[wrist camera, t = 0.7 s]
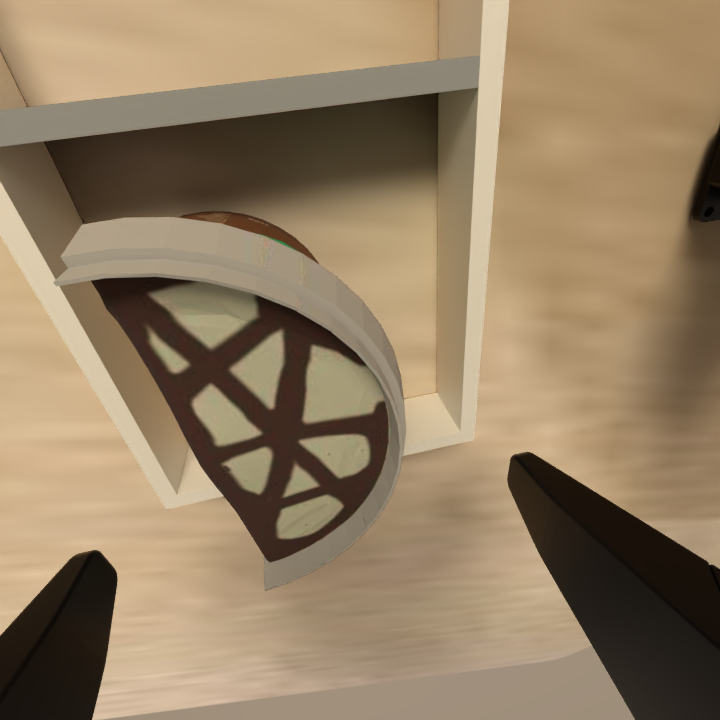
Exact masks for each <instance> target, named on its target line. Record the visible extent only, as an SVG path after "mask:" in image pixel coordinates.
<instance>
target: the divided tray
mask: <svg viewBox="0 0 720 720" xmlns="http://www.w3.org/2000/svg"><path fill="white" fill-rule="evenodd" d="M508 10H509V0H439V60H435V61H426V62H417V63H408V64H400V65H391V66H382V67H374V68H365V69H356V70H347V71H339V72H330V73H321V74H312V75H304V76H295V77H286V78H278V79H269V80H260V81H251V82H243V83H234V84H225V85H216V86H208V87H199V88H190V89H181V90H173V91H164V92H155V93H147V94H138V95H129V96H120V97H112V98H103V99H94V100H85V101H77V102H68V103H59V104H51V105H42V106H33V107H27V106H26V104H25V101H24V99H23V97H22V95H21V93H20V91H19V89H18V87H17V85H16V83H15V81H14V79H13V77H12V74H11V72H10V70H9V68H8V66H7V64H6V62H5V60H4V58H3V56H2V54H1V52H0V236H1V237H2V239H3V241H4V242H5V244H6V246H7V247H8V249H9V251H10V252H11V254H12V256H13V257H14V259H15V261H16V262H17V264H18V266H19V267H20V269H21V270H22V272H23V274H24V275H25V277H26V279H27V280H28V282H29V284H30V285H31V287H32V289H33V290H34V292H35V294H36V295H37V297H38V299H39V300H40V302H41V304H42V305H43V307H44V308H45V310H46V312H47V313H48V315H49V317H50V318H51V320H52V322H53V323H54V325H55V327H56V328H57V330H58V332H59V333H60V335H61V337H62V338H63V340H64V342H65V343H66V345H67V346H68V348H69V350H70V351H71V353H72V355H73V356H74V358H75V360H76V361H77V363H78V365H79V366H80V368H81V370H82V371H83V373H84V375H85V376H86V378H87V380H88V381H89V383H90V384H91V386H92V388H93V389H94V391H95V393H96V394H97V396H98V398H99V399H100V401H101V403H102V404H103V406H104V408H105V409H106V411H107V413H108V414H109V416H110V418H111V419H112V421H113V422H114V424H115V426H116V427H117V429H118V431H119V432H120V434H121V436H122V437H123V439H124V441H125V442H126V444H127V446H128V447H129V449H130V451H131V452H132V454H133V456H134V457H135V459H136V460H137V462H138V464H139V465H140V467H141V469H142V470H143V472H144V474H145V475H146V477H147V479H148V480H149V482H150V484H151V485H152V487H153V489H154V490H155V492H156V494H157V495H158V497H159V498H160V500H161V502H162V503H163V505H164V507H165V508H166V509H170V508H175V507H179V506H183V505H188V504H192V503H197V502H201V501H206V500H210V499H215V498H219V497H224V496H223V495H222V493H221V492H220V491H219V490H218V489H217V488H216V486H215V485H214V484H213V482H212V481H211V480H210V479H209V477H208V476H207V475H206V473H205V472H204V471H203V469H202V468H201V466H200V464H199V463H198V461H197V459H196V457H195V455H194V453H193V451H192V450H191V448H190V446H189V444H188V442H187V440H186V439H185V437H184V435H183V433H182V431H181V429H180V427H179V425H178V423H177V421H176V419H175V417H174V415H173V413H172V411H171V409H170V407H169V405H168V404H167V402H166V400H165V398H164V396H163V395H162V393H161V391H160V389H159V387H158V386H157V384H156V382H155V380H154V379H153V377H152V375H151V374H150V372H149V370H148V369H147V367H146V365H145V364H144V362H143V360H142V359H141V357H140V356H139V354H138V352H137V351H136V349H135V347H134V346H133V344H132V342H131V341H130V339H129V338H128V336H127V335H126V333H125V332H124V331H123V329H122V328H121V326H120V325H119V323H118V322H117V321H116V320H115V318H114V317H113V316H112V315H111V314H110V313H109V312H108V310H107V309H106V308H105V305H104V303H103V301H102V299H101V297H100V295H99V293H98V292H97V290H96V288H95V287H94V285H93V284H92V282H91V281H85V282H79V283H73V284H67V285H61V286H56V285H55V284H54V283H53V282H54V281H55V280H56V279H57V278H58V277H59V276H60V275H61V274H62V273H63V272H65V271H66V270H67V269H68V267H67V266H66V264H65V263H64V261H63V260H62V259H61V255H62V254H63V252H64V251H65V249H66V248H67V246H68V245H69V243H70V242H71V240H72V239H73V237H74V236H75V234H76V233H77V231H78V230H79V228H80V227H81V225H82V224H83V222H82V220H81V218H80V216H79V214H78V212H77V210H76V207H75V205H74V203H73V201H72V199H71V197H70V195H69V193H68V191H67V189H66V187H65V185H64V183H63V180H62V178H61V176H60V174H59V172H58V170H57V168H56V166H55V164H54V162H53V160H52V158H51V156H50V153H49V151H48V149H47V147H46V145H45V143H44V142H45V141H53V140H61V139H69V138H77V137H85V136H93V135H101V134H110V133H118V132H126V131H134V130H142V129H150V128H158V127H166V126H174V125H182V124H190V123H198V122H206V121H215V120H223V119H231V118H239V117H247V116H255V115H263V114H271V113H279V112H287V111H295V110H303V109H311V108H320V107H328V106H336V105H344V104H352V103H360V102H368V101H376V100H384V99H392V98H400V97H408V96H416V95H424V94H433V93H438V249H437V393H432V394H428V395H423V396H418V397H413V398H408V399H404V406H405V420H406V437H405V444H404V452H403V456H406V455H411V454H415V453H420V452H424V451H428V450H433V449H437V448H442V447H446V446H451V445H455V444H460V443H464V442H469V441H473V440H474V436H475V424H476V411H477V399H478V386H479V373H480V361H481V348H482V336H483V323H484V311H485V298H486V286H487V273H488V261H489V248H490V236H491V223H492V211H493V198H494V186H495V173H496V161H497V148H498V136H499V123H500V111H501V98H502V86H503V73H504V61H505V48H506V35H507V23H508Z"/></svg>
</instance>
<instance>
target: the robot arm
mask: <svg viewBox="0 0 720 720" xmlns="http://www.w3.org/2000/svg"><path fill="white" fill-rule="evenodd" d="M692 216H693V219H695V220H697V221H701V222H708V221H714V220H720V136H719V139H718V142H717V145H716V148H715V151H714V154H713V156H712V159H711V162H710V165H709V168H708V171H707V173H706V176H705V179H704V182H703V185H702V188H701V191H700V193H699V196H698V199H697V202H696V205H695V208H694V210H693V215H692ZM507 480H508V486H509V489H510V491H511V493H512V496H513V498H514V500H515V502H516V504H517V507H518V509H519V511H520V513H521V515H522V518H523V520H524V522H525V524H526V526H527V529H528V531H529V533H530V535H531V538H532V540H533V542H534V544H535V546H536V548H537V550H538V552H539V554H540V556H541V558H542V560H543V561H544V563H545V565H546V567H547V568H548V570H549V572H550V574H551V575H552V577H553V579H554V580H555V582H556V584H557V586H558V587H559V589H560V591H561V593H562V594H563V596H564V598H565V599H566V601H567V603H568V605H569V606H570V608H571V610H572V611H573V613H574V615H575V617H576V618H577V620H578V622H579V624H580V625H581V627H582V629H583V630H584V632H585V634H586V636H587V637H588V639H589V641H590V643H591V644H592V646H593V648H594V649H595V651H596V653H597V655H598V656H599V658H600V659H601V661H602V663H603V665H604V667H605V668H606V670H607V672H608V673H609V675H610V677H611V679H612V680H613V682H614V684H615V685H616V687H617V689H618V691H619V692H620V694H621V696H622V698H623V699H624V701H625V703H626V705H627V706H628V708H629V710H630V711H631V713H632V715H633V717H634V718H635V720H720V569H719V568H717V567H716V566H714V565H709V564H708V562H707V561H706V560H704V559H702V558H701V557H699V556H698V555H696V554H694V553H693V552H691V551H690V550H688V549H686V548H685V547H683V546H682V545H680V544H678V543H677V542H675V541H673V540H672V539H670V538H669V537H667V536H665V535H664V534H662V533H661V532H659V531H657V530H656V529H654V528H652V527H651V526H649V525H648V524H646V523H644V522H643V521H641V520H640V519H638V518H636V517H635V516H633V515H631V514H630V513H628V512H627V511H625V510H623V509H622V508H620V507H619V506H617V505H615V504H614V503H612V502H610V501H609V500H607V499H606V498H604V497H602V496H601V495H599V494H598V493H596V492H594V491H593V490H591V489H589V488H588V487H586V486H585V485H583V484H581V483H580V482H578V481H577V480H575V479H573V478H572V477H570V476H568V475H567V474H565V473H564V472H562V471H560V470H559V469H557V468H556V467H554V466H552V465H551V464H549V463H547V462H546V461H544V460H543V459H541V458H539V457H538V456H536V455H535V454H533V453H530V452H524V453H519V454H515V455H513V456H512V457H511V459H510V465H509V471H508V478H507ZM116 588H117V573H116V570H115V569H114V567H113V566H112V565H111V564H110V563H109V561H108V560H107V559H106V558H105V557H104V555H103V554H102V553H101V552H100V551H98V550H92V551H88V552H83V553H79V554H77V555H75V556H73V557H72V558H71V559H70V560H69V561H68V562H67V563H66V564H65V565H64V566H63V567H62V569H61V570H60V571H59V572H58V573H57V574H56V575H55V576H54V577H53V578H52V579H51V581H50V582H49V583H48V584H47V585H46V586H45V587H44V588H43V589H42V590H41V592H40V593H39V594H38V595H37V596H36V597H35V598H34V599H33V600H32V601H31V603H30V604H29V605H28V606H27V607H26V608H25V609H24V610H23V611H22V612H21V613H20V615H19V616H18V617H17V618H16V619H15V620H14V621H13V622H12V623H11V624H10V626H9V627H8V628H7V629H6V630H5V631H4V632H3V633H2V634H1V635H0V720H92V717H93V713H94V709H95V705H96V701H97V697H98V693H99V689H100V685H101V680H102V676H103V672H104V667H105V663H106V657H107V651H108V644H109V637H110V630H111V623H112V616H113V609H114V602H115V595H116Z"/></svg>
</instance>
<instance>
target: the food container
mask: <svg viewBox="0 0 720 720" xmlns="http://www.w3.org/2000/svg"><path fill="white" fill-rule="evenodd" d="M61 259H62V260H63V261H64V263H65V264H66V266H67V267H68V269H67V270H66V271H65V272H63V273H62V274H61V275H60V276H59V277H58V278H57V279H56V280H55V281H54V282H53V283H54V284H55V285H56V286H61V285H67V284H73V283H79V282H85V281H91V282H92V284H93V285H94V287H95V288H96V290H97V292H98V293H99V295H100V297H101V299H102V301H103V303H104V305H105V308H106V309H107V310H108V312H109V313H110V314H111V315H112V316H113V317H114V318H115V320H116V321H117V322H118V323H119V325H120V326H121V328H122V329H123V331H124V332H125V333H126V335H127V336H128V338H129V339H130V341H131V342H132V344H133V346H134V347H135V349H136V351H137V352H138V354H139V356H140V357H141V359H142V360H143V362H144V364H145V365H146V367H147V369H148V370H149V372H150V374H151V375H152V377H153V379H154V380H155V382H156V384H157V386H158V387H159V389H160V391H161V393H162V395H163V396H164V398H165V400H166V402H167V404H168V405H169V407H170V409H171V411H172V413H173V415H174V417H175V419H176V421H177V423H178V425H179V427H180V429H181V431H182V433H183V435H184V437H185V439H186V440H187V442H188V444H189V446H190V448H191V450H192V451H193V453H194V455H195V457H196V459H197V461H198V463H199V464H200V466H201V468H202V469H203V471H204V472H205V473H206V475H207V476H208V477H209V479H210V480H211V481H212V482H213V484H214V485H215V486H216V488H217V489H218V490H219V491H220V492H221V493H222V495H223V496H224V497H225V498H226V499H227V500H228V502H229V503H230V504H231V506H232V507H233V508H234V509H235V511H236V512H237V513H238V515H239V517H240V518H241V520H242V521H243V523H244V524H245V526H246V528H247V529H248V531H249V532H250V534H251V536H252V537H253V539H254V540H255V542H256V544H257V545H258V547H259V548H260V550H261V552H262V553H263V555H264V584H265V591H266V590H269V589H272V588H275V587H278V586H281V585H284V584H287V583H289V582H291V581H294V580H296V579H298V578H300V577H302V576H304V575H306V574H309V573H311V572H313V571H314V570H316V569H318V568H319V567H321V566H323V565H324V564H326V563H328V562H330V561H331V560H333V559H334V558H336V557H337V556H338V555H340V554H341V553H342V552H344V551H345V550H346V549H348V548H349V547H350V546H352V545H353V544H354V543H355V542H356V541H357V540H358V539H359V538H360V537H361V536H362V535H363V534H364V533H365V532H366V531H367V530H368V529H369V528H370V527H371V525H372V524H373V523H374V521H375V520H376V519H377V518H378V516H379V515H380V514H381V512H382V511H383V509H384V508H385V506H386V504H387V502H388V500H389V498H390V497H391V495H392V493H393V491H394V488H395V485H396V482H397V479H398V476H399V473H400V468H401V460H402V456H403V452H404V444H405V437H406V420H405V406H404V398H403V390H402V382H401V374H400V371H399V367H398V364H397V360H396V357H395V353H394V350H393V348H392V346H391V344H390V342H389V340H388V338H387V336H386V334H385V332H384V330H383V328H382V326H381V324H380V323H379V322H378V320H377V319H376V318H375V316H374V315H373V314H372V312H371V311H370V310H369V308H368V307H367V306H366V305H365V303H364V302H363V301H362V299H361V298H360V297H358V296H357V295H356V294H355V293H354V292H353V291H352V290H351V289H350V288H349V287H348V286H347V285H346V284H344V283H343V282H342V281H341V280H340V279H339V278H338V277H337V276H336V275H334V274H333V273H331V272H330V271H328V270H327V269H325V268H324V267H322V266H321V265H319V263H318V262H317V260H316V259H315V258H314V257H313V255H312V254H311V253H310V252H309V250H308V249H307V248H306V247H305V246H304V245H302V244H301V243H300V242H299V241H298V240H297V239H296V238H295V237H293V236H292V235H290V234H289V233H287V232H286V231H284V230H283V229H281V228H279V227H277V226H275V225H273V224H271V223H269V222H266V221H264V220H262V219H259V218H255V217H252V216H248V215H245V214H239V213H232V212H224V211H223V212H200V213H195V214H189V215H183V216H181V217H179V218H177V217H132V218H119V219H113V220H107V221H101V222H95V223H89V224H82V225H81V227H80V228H79V230H78V231H77V233H76V234H75V236H74V237H73V239H72V240H71V242H70V243H69V245H68V246H67V248H66V249H65V251H64V252H63V254H62V255H61Z"/></svg>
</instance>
